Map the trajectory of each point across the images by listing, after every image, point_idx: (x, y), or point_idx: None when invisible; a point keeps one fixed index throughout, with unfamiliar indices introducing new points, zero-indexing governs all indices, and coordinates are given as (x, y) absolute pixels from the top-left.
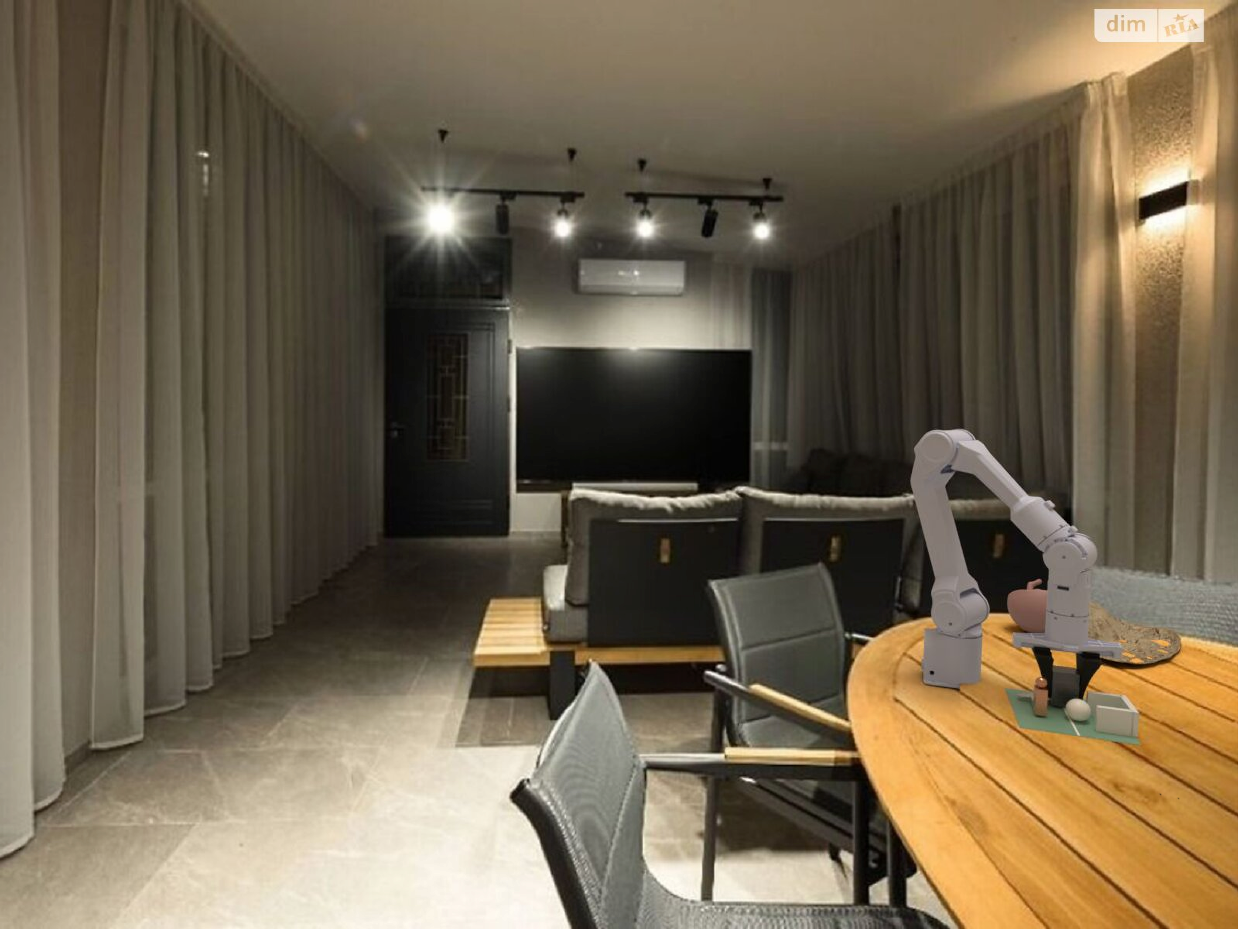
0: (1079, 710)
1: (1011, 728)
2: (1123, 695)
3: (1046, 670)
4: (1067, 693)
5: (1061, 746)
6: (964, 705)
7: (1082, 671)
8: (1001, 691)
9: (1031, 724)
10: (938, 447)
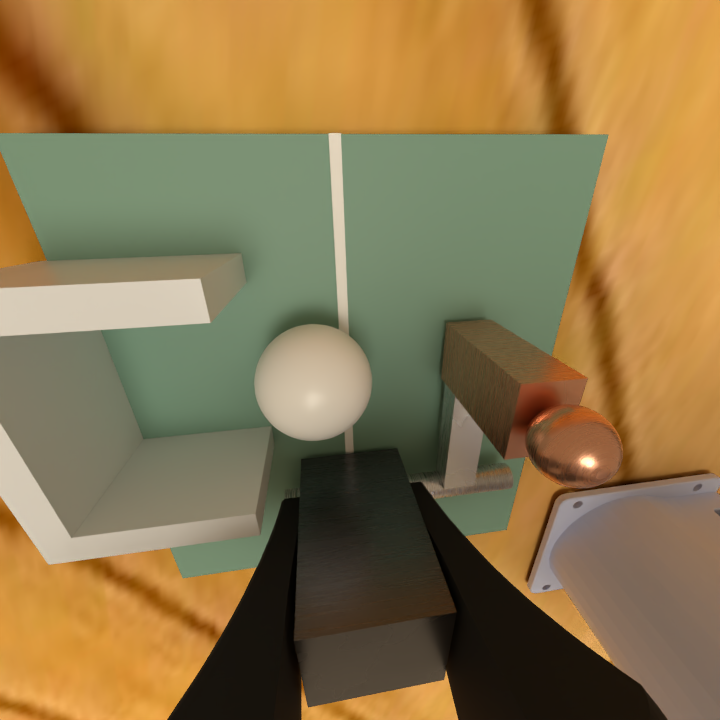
0: (316, 336)
1: None
2: (59, 560)
3: (502, 605)
4: (349, 506)
5: (424, 47)
6: (665, 369)
7: (277, 678)
8: None
9: (535, 205)
10: None
